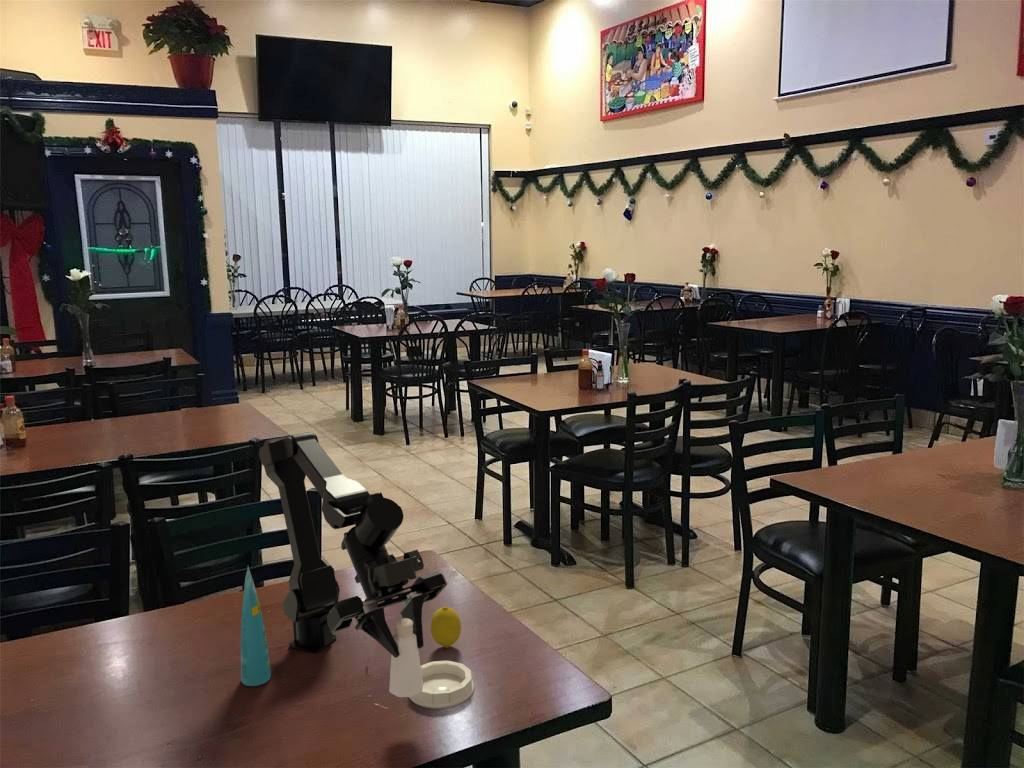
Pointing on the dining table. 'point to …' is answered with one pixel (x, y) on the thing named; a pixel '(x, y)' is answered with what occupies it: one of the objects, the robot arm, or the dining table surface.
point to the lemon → (445, 626)
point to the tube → (253, 639)
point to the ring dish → (444, 685)
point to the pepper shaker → (405, 662)
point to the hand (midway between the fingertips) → (409, 652)
